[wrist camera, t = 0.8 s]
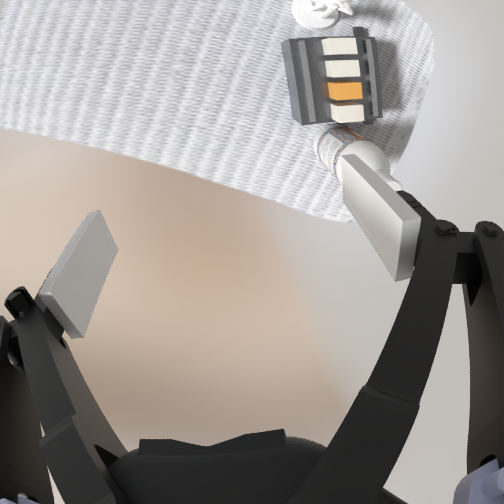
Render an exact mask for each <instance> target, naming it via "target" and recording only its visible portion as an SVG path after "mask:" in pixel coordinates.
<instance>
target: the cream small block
mask: <svg viewBox="0 0 504 504" xmlns="http://www.w3.org/2000/svg"><path fill="white" fill-rule="evenodd" d="M330 105H331V114H332V119H333V120H335V121H337V122H338V123H345V122H357V121H364V109H363V104H360V103H357V102H343V103H331V104H330Z"/></svg>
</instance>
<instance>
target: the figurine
mask: <svg viewBox="0 0 504 504" xmlns="http://www.w3.org/2000/svg"><path fill="white" fill-rule="evenodd" d="M350 1H351V0H294V1H293V3H292V13H293V16H294V18H295V19H296V21H297V22H298V23H299V24H300V25H301V26H303V27H304V28H306V29H309V30H312V31H325V30H328V29H330V28H331V27H333V26H334V25H335V23H336V22H337V20H338V15H339V13H338V11H339V10H340V11H342V12H345V13H346V14H349V15H353V14H354V13H353V11H352V9H351V5H350Z"/></svg>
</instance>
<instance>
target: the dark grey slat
mask: <svg viewBox="0 0 504 504" xmlns="http://www.w3.org/2000/svg"><path fill="white" fill-rule="evenodd" d="M353 33H354V37H364V31H363V27H353ZM363 123H364V124H366V125H368V124H373V118H372V119H364V121H363Z"/></svg>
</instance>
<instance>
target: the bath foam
mask: <svg viewBox="0 0 504 504" xmlns="http://www.w3.org/2000/svg"><path fill="white" fill-rule="evenodd" d="M314 151H315V154H316V156H317V157H318V159H319V160H320V161H321V162H322V163H323V164H324V165H325V166H326V167H327V168H328V169H329V171H330V172H331V173H332V174H333V175H334V176H335V177H336V178H337V179H338V181H339V182H340V183H341V184H342V185H343V182H342V166H341V155H348V154H355V155H357V156H358V157H359V158H360V159H361V160H362V161H363V162H364V163H366V164H367V165H368V166H369V167H370V168H371V169H372V170H373V171H374V172H375V173H377V174H378V175H379V176H380V177H381V178H382V179H383V180H384V181H385V182H386V183H387V184H388V185H389V186H390V187H391V188H392V189H393V190H394V191H400V190H403V188H402V185H401V184H400V183H399V182H398V181H397V180H395V179H394V178H393V177H392V176H391V175H390V165H389V162H388V159H387V157H386V155H385V154H384V152H383V151H382V150H381V149H380V148H379V147H378V146H377V145H376V144H374V143H372V142H371V141H369V140H367V139H366V138H364V137H362V136H361V135H359V134H357V133H356V132H354V131H352V130H350V129H349V128H347V127H345V126H343V125H340V124H330V125H327V126H325V127H323V128H322V129H321V130H320V131H319V132H318V133H317V135H316V136H315V139H314Z"/></svg>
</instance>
